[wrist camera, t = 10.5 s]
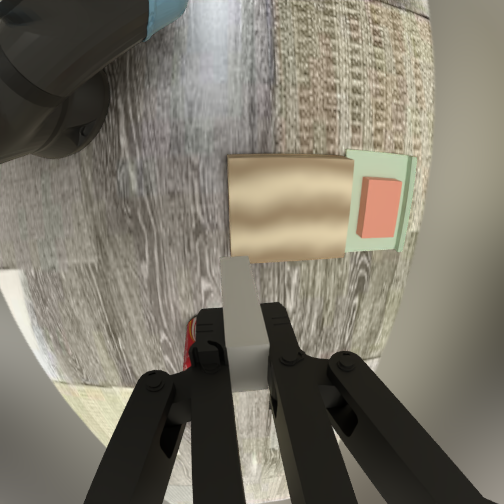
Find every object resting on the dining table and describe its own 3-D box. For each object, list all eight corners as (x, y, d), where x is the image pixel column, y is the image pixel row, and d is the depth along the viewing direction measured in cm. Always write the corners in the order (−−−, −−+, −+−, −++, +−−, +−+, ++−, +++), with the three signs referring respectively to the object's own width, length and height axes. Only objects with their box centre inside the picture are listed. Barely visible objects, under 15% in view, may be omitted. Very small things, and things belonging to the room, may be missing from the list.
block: (402, 181, 38) (395, 178, 39) (369, 179, 37) (362, 176, 39) (393, 237, 42) (387, 232, 43) (361, 238, 41) (356, 233, 43)
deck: (227, 154, 36) (228, 158, 32) (342, 155, 38) (354, 159, 34) (230, 251, 42) (231, 264, 39) (334, 245, 44) (343, 257, 40)
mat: (345, 149, 37) (350, 150, 36) (411, 155, 38) (417, 157, 37) (336, 251, 44) (340, 256, 43) (397, 247, 45) (402, 251, 44)
